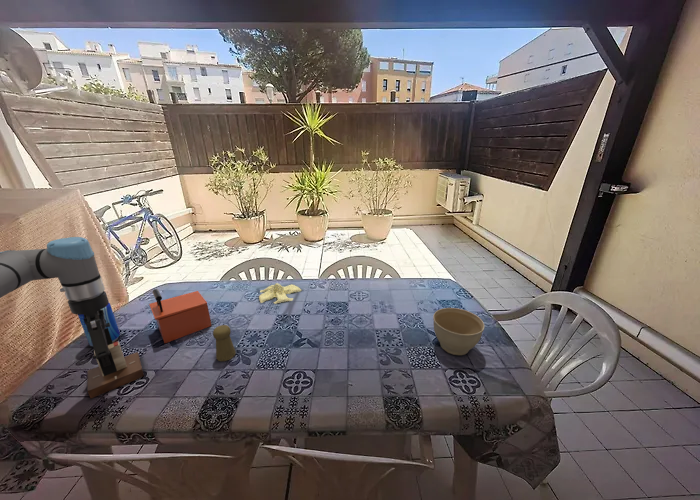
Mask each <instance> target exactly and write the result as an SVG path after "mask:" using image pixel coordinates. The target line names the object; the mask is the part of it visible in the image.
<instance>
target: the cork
mask: <svg viewBox="0 0 700 500" xmlns="http://www.w3.org/2000/svg"><path fill="white" fill-rule="evenodd" d="M231 331H232V330H231V327H230V326H229V325H227V324H221V325H218V326H216V327H215V328H214V329H213V331H212V336H213V338H214V339H215V355H216V356H215V358H216V360H217V361H218V362H226V361H229V360H231V359H233V358H234V357H235V356H236V354H237V352H236V348H235V346H234V343H233V340H232V338H231V333H232V332H231Z"/></svg>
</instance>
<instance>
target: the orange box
mask: <svg viewBox="0 0 700 500" xmlns="http://www.w3.org/2000/svg"><path fill="white" fill-rule="evenodd" d="M209 310H210V309H209V305H208V304H207V305H204V306H200V307H197V308H194V309H190V310H187V311H184V312H181V313H177V314H174V315H171V316H167V317H164V318H161V319H158V320H155V321H156V324H157V327H158V330H159V333H160V336H161V338H162V341H163V343H164V344H167V343H170V342H172V341H175V340H177V339H181V338H183V337H186V336H188V335H191V334H195V333H197V332H199V331H201V330H205V329H207V328H210V327H212V321H211V315H210V311H209Z"/></svg>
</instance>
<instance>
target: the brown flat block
mask: <svg viewBox="0 0 700 500" xmlns="http://www.w3.org/2000/svg"><path fill="white" fill-rule="evenodd" d="M124 358H125V361H126V365H127V367H125V368H123V369H120V370H118V371H116V372H114V373H111V374H109V375H106V376H102V373H101V371H100V368H99V366H97V367H94V368H90V369H88V370H87V393H88V396H89V399H93V398H97V397H98V396H100V395H103V394H105V393H108V392H110V391H113V390H115V389H117V388H120V387H122V386H125V385H127V384H129V383H131V382H134V381H136V380H139V379H141V378H143V377H145V374H144V370H143V365H142V362H141V358H140V354H139V352H138V351H136V352H133V353H131V354H129V355H126V356H124Z"/></svg>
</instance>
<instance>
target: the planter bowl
mask: <svg viewBox="0 0 700 500" xmlns="http://www.w3.org/2000/svg"><path fill="white" fill-rule="evenodd" d="M432 316H433V317H432V318H433V319H432V321H433V331H434V334H435V337H436V339H437V341H438V342H439V345H440V347H441V348H442V350H443V351H445V352H447V353H448V354H451V355H454V356H464V355H466V354H468V353H469V352H470V350H472V349H474V348H475V347H476V345H478V343H479V342H480V340H481V338H482V337H483V333H484V330H485V323H484V321H483V319H481V317H480V316H478V315H477V314H476V313H473V312H471V311H469V310H466V309H462V308H457V307H444V308H439V309H438V310H436V311H435V312H434V314H433V315H432Z"/></svg>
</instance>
